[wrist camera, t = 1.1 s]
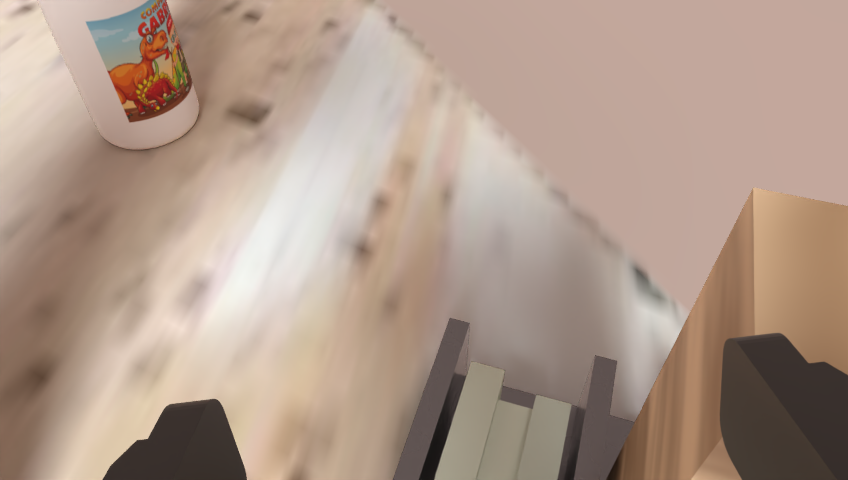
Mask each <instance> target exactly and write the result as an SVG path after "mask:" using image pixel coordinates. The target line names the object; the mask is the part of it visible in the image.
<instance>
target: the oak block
mask: <svg viewBox="0 0 848 480" xmlns="http://www.w3.org/2000/svg"><path fill="white" fill-rule="evenodd" d="M770 333H781V334H783V335H784V336H786V337H787V338H788V340H789V341H790V342H791V343H792V344H793V345H794V347H795V348H796V349H797V350H798V351H799V353H800V354H801V355H802V356H803V357H804V358H805V360H806V361H807V362H808V363H816V362H826V363H828V364H830V365H832V366H833V367H835V368H837V369H838V370H840V371H842V372H844V373H845V374H847V375H848V206H844V205H839V204H834V203H829V202H824V201H818V200H814V199H808V198H804V197H798V196H793V195H788V194H783V193H778V192H773V191H768V190H763V189H758V188H753V189H752V191H751V193H750V195H749V197H748V199H747V201H746V203H745V205H744V207H743V209H742V211H741V213H740V215H739V217H738V219H737V221H736V223H735V225H734V227H733V229H732V231H731V233H730V235H729V237H728V239H727V241H726V243H725V245H724V246H723V248H722V250H721V253H720V255H719V257H718V258H717V260H716V262H715V264H714V266H713V269H712V270H711V272H710V274H709V276H708V279H707V280H706V282H705V284H704V286H703V288H702V290H701V292H700V294H699V296H698V298H697V300H696V302H695V304H694V306H693V308H692V310H691V312H690V314H689V316H688V318H687V320H686V322H685V324H684V326H683V328H682V330H681V332H680V334H679V336H678V338H677V340H676V342H675V344H674V346H673V348H672V350H671V352H670V354H669V356H668V358H667V360H666V362H665V363H664V365H663V367H662V369H661V371H660V373H659V375H658V377H657V379H656V381H655V383H654V385H653V387H652V389H651V391H650V393H649V395H648V397H647V399H646V401H645V403H644V405H643V407H642V409H641V411H640V413H639V415H638V417H637V419H636V421H635V423H634V425H633V427H632V429H631V431H630V433H629V435H628V437H627V439H626V441H625V443H624V445H623V447H622V449H621V451H620V453H619V455H618V457H617V459H616V461H615V463H614V465H613V467H612V469H611V471H610V473H609V475H608V477H607V478H606V480H742V479H741V477H740V475H739V474H738V472H737V470H736V468H735V466H734V465H733V463H732V461H731V459H730V457H729V455H728V453H727V450H726V448H725V445H724V441H723V437H722V433H721V427H720V399H721V380H722V361H723V348H724V344H725V341H726V340H727V339H729V338H736V337H745V336H753V335H761V334H770Z"/></svg>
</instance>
